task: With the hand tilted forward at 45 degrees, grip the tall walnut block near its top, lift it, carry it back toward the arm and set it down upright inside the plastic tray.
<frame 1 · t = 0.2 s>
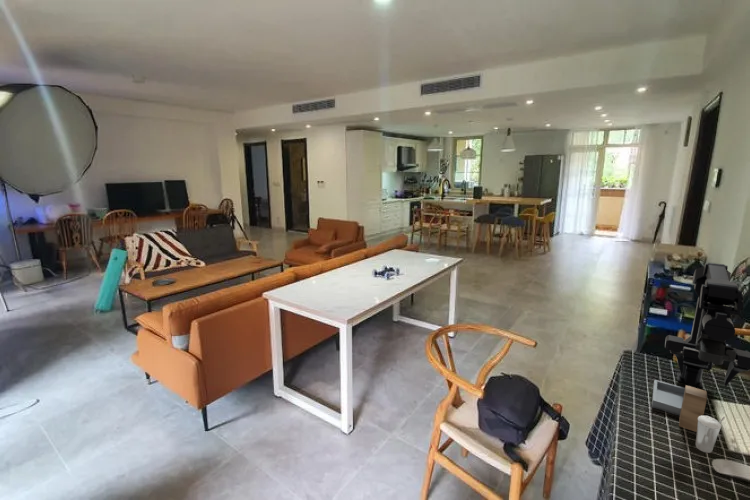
hand: (702, 379, 102), 15 cm above the table, tool pointing down, fingers open, 9 cm apart
block: (689, 425, 105), on the table
tray: (671, 401, 116), on the table
milkshake: (705, 449, 97), on the table
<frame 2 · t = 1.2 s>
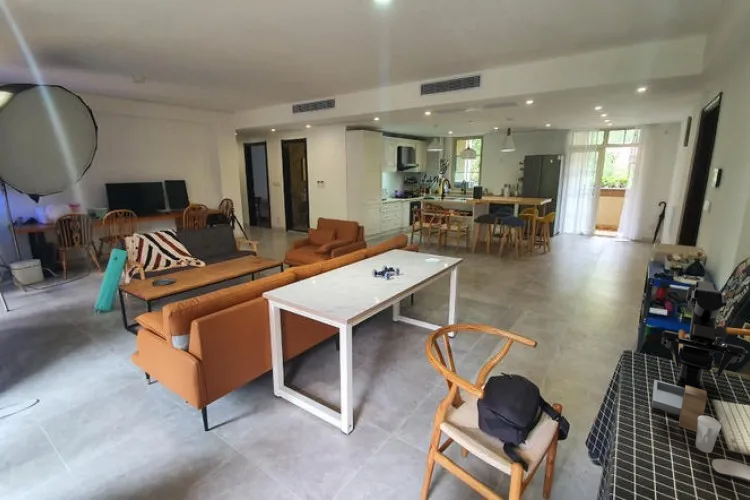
hand: (697, 371, 108), 13 cm above the table, tool tilted 45°, fingers open, 9 cm apart
nothing on the table moved.
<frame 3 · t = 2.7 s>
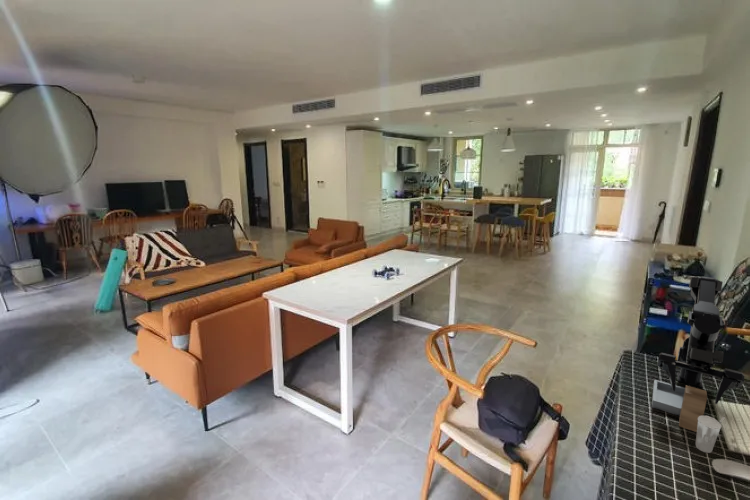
hand: (694, 397, 104), 9 cm above the table, tool tilted 45°, fingers open, 9 cm apart
nothing on the table moved.
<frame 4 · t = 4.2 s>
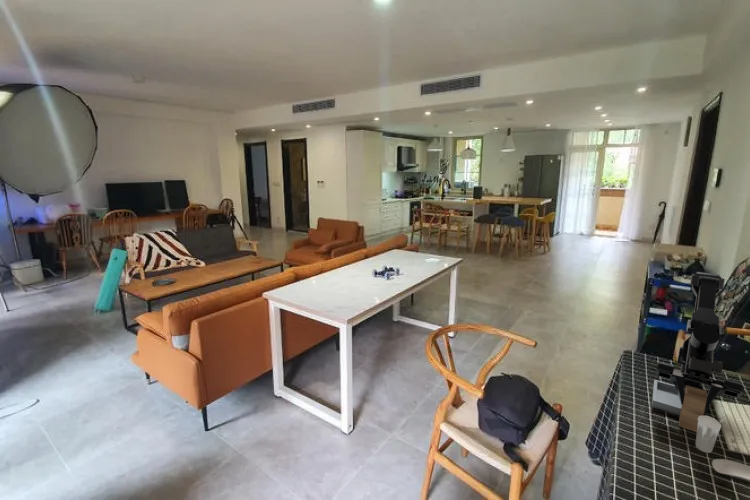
hand: (693, 407, 103), 7 cm above the table, tool tilted 45°, fingers closed on block, 4 cm apart
block: (689, 425, 105), on the table, touching gripper
everything else where it was.
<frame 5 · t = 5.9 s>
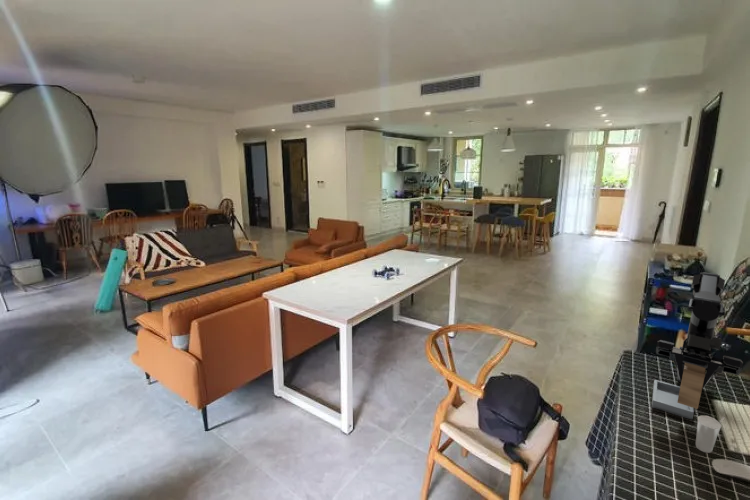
hand: (691, 384, 104), 13 cm above the table, tool tilted 45°, fingers closed on block, 4 cm apart
block: (687, 402, 106), point 6 cm above the table, touching gripper
everything else where it was.
when the fingers open (9 cm above the table, at t = 7.9 s): block drops 1 cm, resting on tray.
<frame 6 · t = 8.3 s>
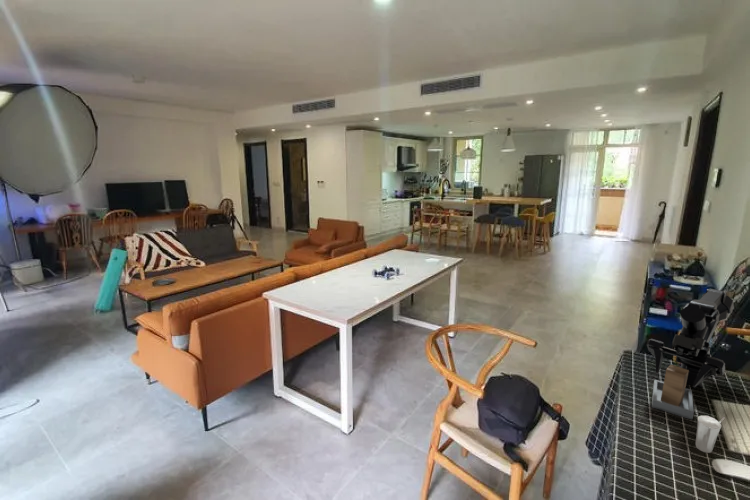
hand: (674, 379, 113), 9 cm above the table, tool tilted 45°, fingers open, 9 cm apart
block: (671, 400, 115), point 1 cm above the table, touching tray
everything else where it was.
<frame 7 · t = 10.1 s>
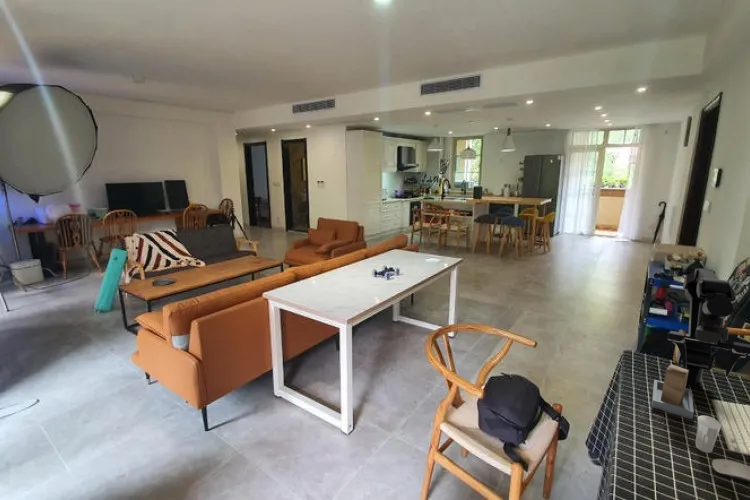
hand: (705, 371, 108), 13 cm above the table, tool tilted 25°, fingers open, 9 cm apart
nothing on the table moved.
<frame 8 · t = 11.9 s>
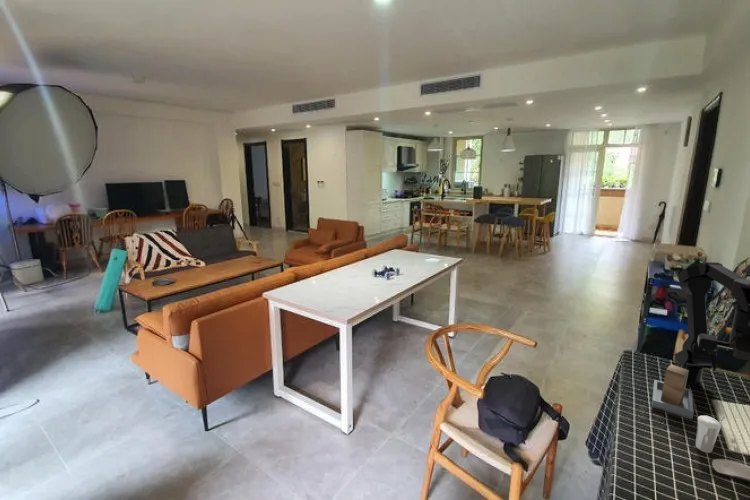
hand: (735, 375, 107), 13 cm above the table, tool pointing down, fingers open, 9 cm apart
nothing on the table moved.
at the end: block inside the target area on the tray (0.5 cm from its centre), point 0.6 cm above the tray's base; block tilted 0°; the gripper is holding nothing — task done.
